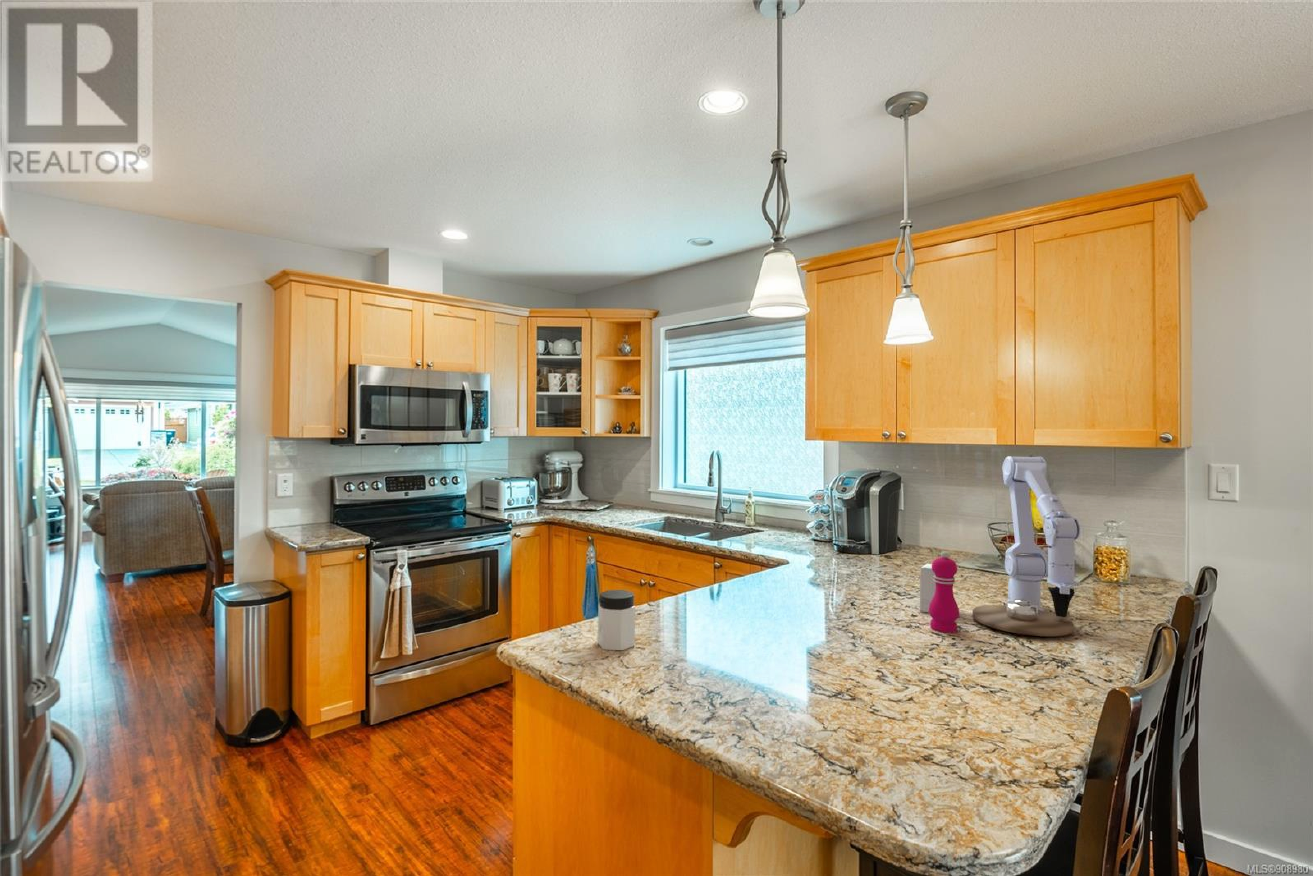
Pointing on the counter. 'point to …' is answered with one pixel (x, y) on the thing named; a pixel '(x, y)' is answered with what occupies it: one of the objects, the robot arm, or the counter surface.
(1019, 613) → the aluminium cover
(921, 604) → the supplement box
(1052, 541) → the robot arm
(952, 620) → the pepper mill
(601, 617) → the jar
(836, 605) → the counter surface
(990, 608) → the turntable top
